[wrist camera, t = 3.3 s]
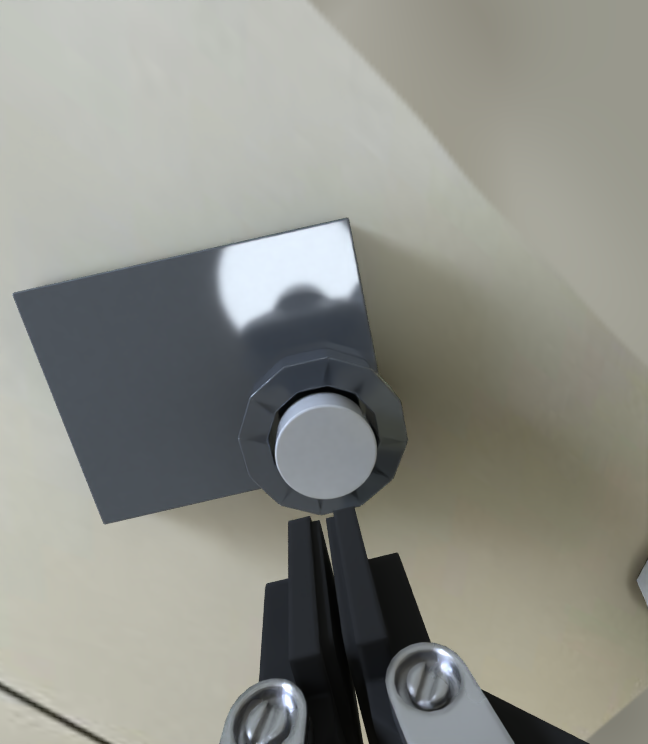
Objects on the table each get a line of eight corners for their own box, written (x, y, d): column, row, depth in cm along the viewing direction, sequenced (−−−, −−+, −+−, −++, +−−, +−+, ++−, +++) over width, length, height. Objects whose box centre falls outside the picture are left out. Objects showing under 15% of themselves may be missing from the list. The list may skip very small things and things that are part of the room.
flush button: (360, 381, 19) (367, 394, 17) (378, 467, 20) (386, 487, 18) (266, 403, 19) (263, 418, 17) (288, 488, 20) (288, 510, 18)
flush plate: (352, 218, 21) (366, 210, 17) (397, 454, 24) (418, 493, 20) (39, 288, 20) (-19, 297, 17) (126, 516, 24) (93, 568, 20)
